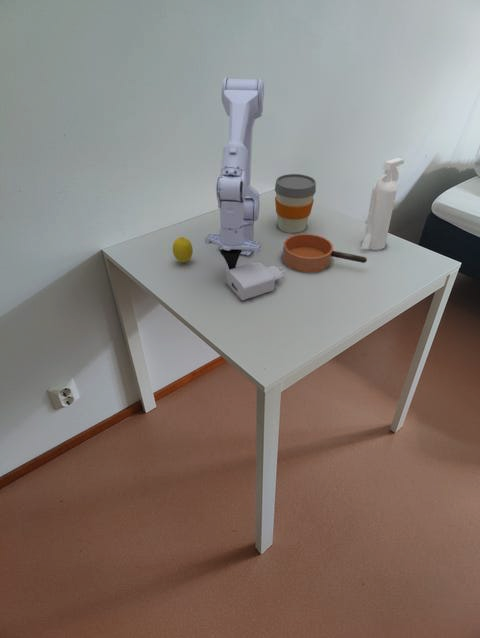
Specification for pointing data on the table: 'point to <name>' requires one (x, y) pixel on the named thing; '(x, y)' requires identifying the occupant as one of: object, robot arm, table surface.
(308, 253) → the pan
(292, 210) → the reusable coffee cup
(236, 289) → the charger
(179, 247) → the lemon
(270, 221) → the table surface
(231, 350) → the table surface
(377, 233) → the white spray bottle
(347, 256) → the pan handle
